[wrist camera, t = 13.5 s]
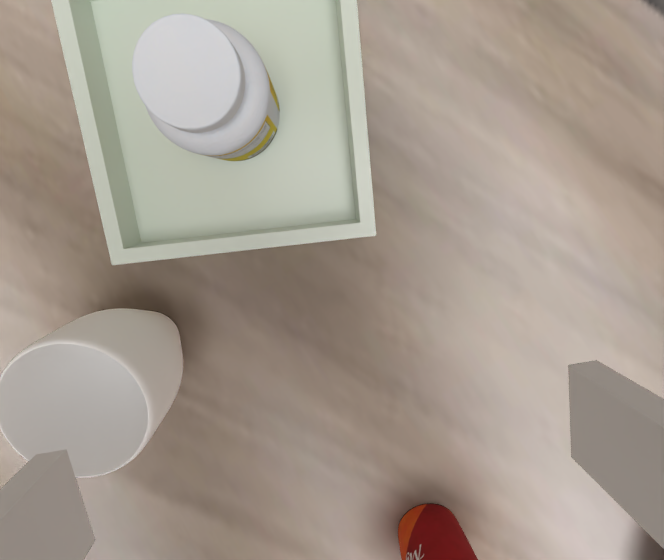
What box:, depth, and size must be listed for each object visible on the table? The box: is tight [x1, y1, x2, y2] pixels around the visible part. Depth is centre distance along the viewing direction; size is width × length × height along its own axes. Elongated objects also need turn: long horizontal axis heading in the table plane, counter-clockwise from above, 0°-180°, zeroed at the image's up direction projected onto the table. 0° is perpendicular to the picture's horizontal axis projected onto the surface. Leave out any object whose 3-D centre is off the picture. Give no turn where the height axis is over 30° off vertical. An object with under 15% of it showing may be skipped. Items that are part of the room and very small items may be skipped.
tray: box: [51, 0, 376, 265], centre depth 28 cm, size 18×18×4 cm
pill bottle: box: [132, 13, 280, 161], centre depth 24 cm, size 6×6×12 cm
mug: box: [0, 308, 183, 478], centre depth 28 cm, size 12×8×11 cm
